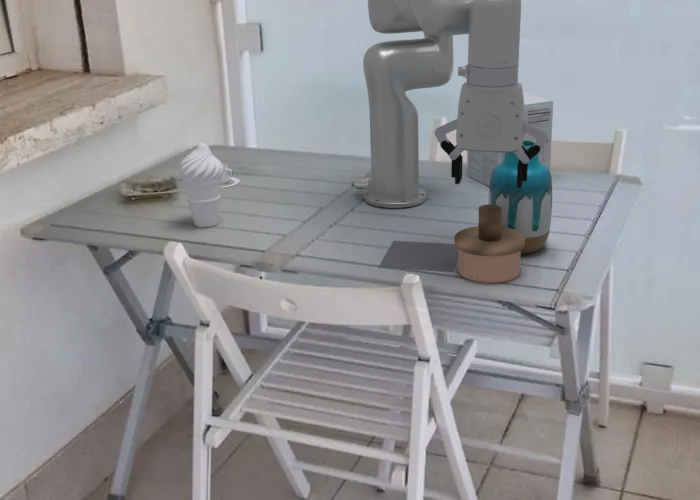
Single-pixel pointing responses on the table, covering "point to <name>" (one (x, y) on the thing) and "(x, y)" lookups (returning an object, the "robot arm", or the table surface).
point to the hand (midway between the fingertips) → (488, 183)
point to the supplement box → (536, 115)
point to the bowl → (489, 267)
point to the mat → (421, 256)
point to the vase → (523, 198)
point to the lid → (489, 235)
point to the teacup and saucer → (225, 177)
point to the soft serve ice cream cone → (202, 185)
